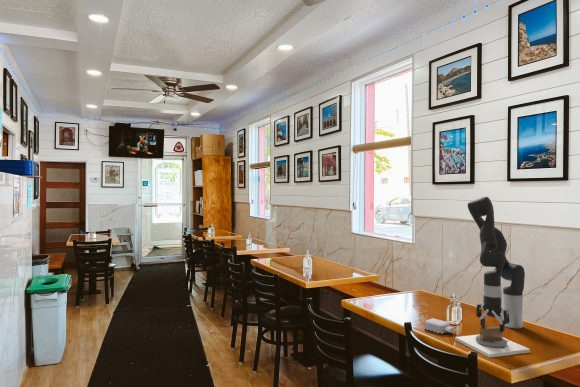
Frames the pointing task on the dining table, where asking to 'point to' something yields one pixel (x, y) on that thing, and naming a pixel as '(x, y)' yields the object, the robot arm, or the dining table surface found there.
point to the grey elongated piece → (438, 326)
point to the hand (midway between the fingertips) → (492, 329)
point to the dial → (491, 337)
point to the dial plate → (490, 351)
